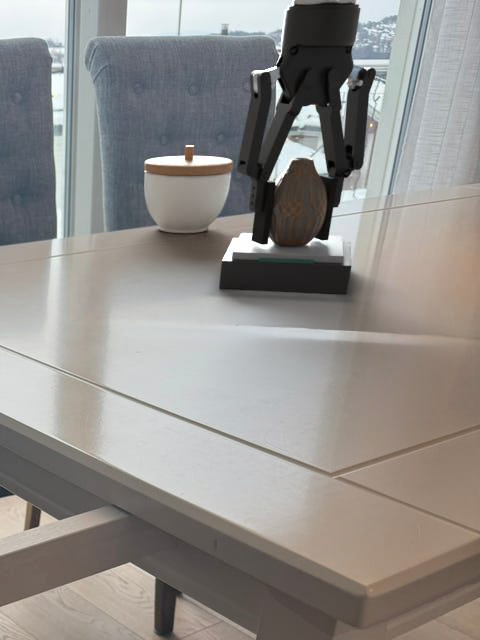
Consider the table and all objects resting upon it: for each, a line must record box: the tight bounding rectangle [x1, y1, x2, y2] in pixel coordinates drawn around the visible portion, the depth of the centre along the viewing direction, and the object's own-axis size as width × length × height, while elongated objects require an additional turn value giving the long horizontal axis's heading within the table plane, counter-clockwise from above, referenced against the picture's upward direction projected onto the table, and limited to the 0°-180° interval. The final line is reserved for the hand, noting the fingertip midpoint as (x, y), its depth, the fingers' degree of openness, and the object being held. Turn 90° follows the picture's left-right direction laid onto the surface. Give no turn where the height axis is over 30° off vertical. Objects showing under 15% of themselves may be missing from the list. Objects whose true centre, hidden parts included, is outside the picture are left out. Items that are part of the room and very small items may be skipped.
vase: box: [269, 157, 327, 246], centre depth 106 cm, size 7×7×9 cm
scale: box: [218, 232, 352, 295], centre depth 110 cm, size 14×14×4 cm
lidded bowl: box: [143, 144, 234, 234], centre depth 136 cm, size 13×13×11 cm
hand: (289, 240), depth 109 cm, fingers closed on vase, 7 cm apart
